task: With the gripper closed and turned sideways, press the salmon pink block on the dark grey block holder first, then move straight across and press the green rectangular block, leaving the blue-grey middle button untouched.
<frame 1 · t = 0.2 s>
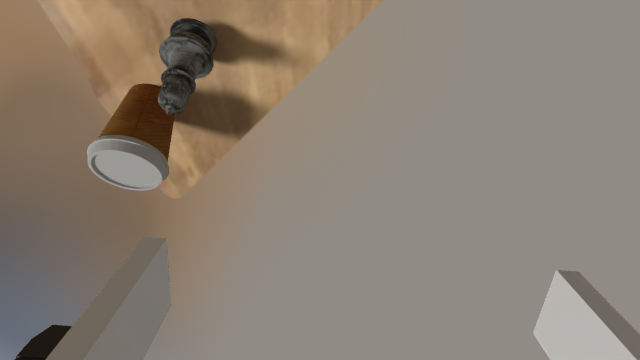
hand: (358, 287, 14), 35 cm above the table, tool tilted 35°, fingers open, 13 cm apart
disposable coffee cup: (153, 99, 57), on the table
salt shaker: (193, 37, 48), on the table
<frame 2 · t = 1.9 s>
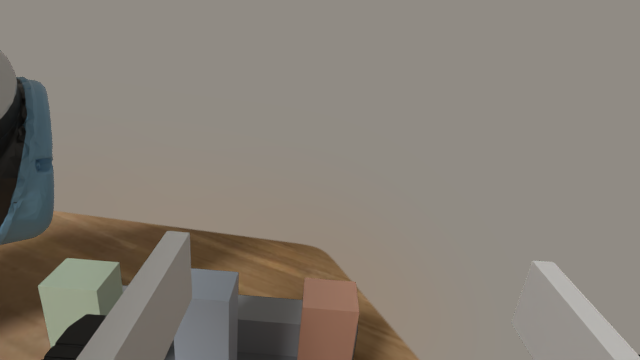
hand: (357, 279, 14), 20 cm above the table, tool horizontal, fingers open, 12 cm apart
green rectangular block: (90, 334, 28), point 7 cm above the table, slide at 0.0 cm
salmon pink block: (323, 352, 28), point 7 cm above the table, slide at 0.0 cm
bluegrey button: (207, 343, 28), point 7 cm above the table, slide at 0.0 cm
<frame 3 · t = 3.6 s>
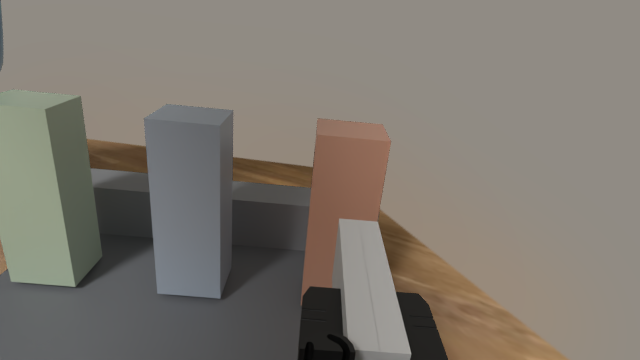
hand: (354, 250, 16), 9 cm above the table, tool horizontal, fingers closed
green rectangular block: (45, 191, 22), point 7 cm above the table, slide at 0.0 cm
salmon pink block: (340, 216, 22), point 7 cm above the table, slide at 0.0 cm
dark grey block holder: (199, 298, 25), on the table
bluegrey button: (194, 204, 22), point 7 cm above the table, slide at 0.0 cm
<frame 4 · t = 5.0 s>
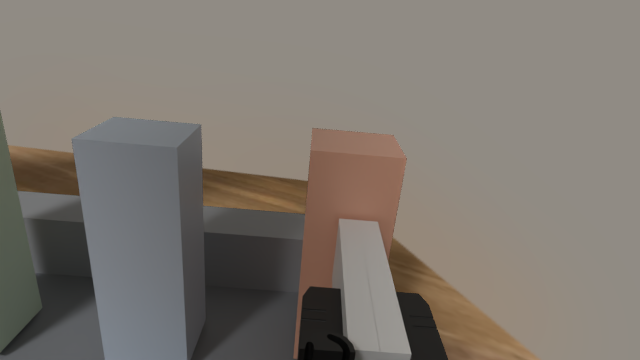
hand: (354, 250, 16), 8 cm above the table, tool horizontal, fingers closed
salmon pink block: (341, 249, 18), point 7 cm above the table, slide at 0.9 cm, touching gripper
dark grey block holder: (165, 359, 20), on the table
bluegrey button: (151, 246, 17), point 7 cm above the table, slide at 0.0 cm
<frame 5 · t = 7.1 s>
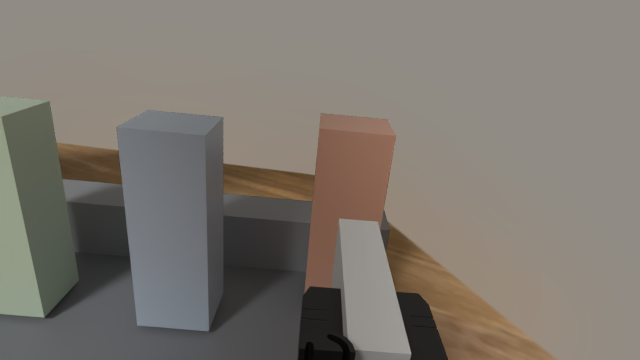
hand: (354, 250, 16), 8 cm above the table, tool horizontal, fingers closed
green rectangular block: (9, 209, 19), point 7 cm above the table, slide at 0.0 cm
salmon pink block: (344, 214, 22), point 7 cm above the table, slide at 2.6 cm
dark grey block holder: (187, 327, 23), on the table
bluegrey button: (179, 224, 19), point 7 cm above the table, slide at 0.0 cm
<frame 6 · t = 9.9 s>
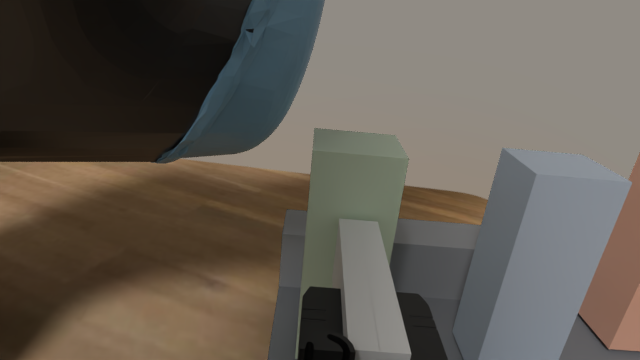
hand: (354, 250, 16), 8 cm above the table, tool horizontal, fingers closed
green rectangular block: (343, 249, 18), point 7 cm above the table, slide at 0.5 cm, touching gripper
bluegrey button: (525, 270, 18), point 7 cm above the table, slide at 0.0 cm
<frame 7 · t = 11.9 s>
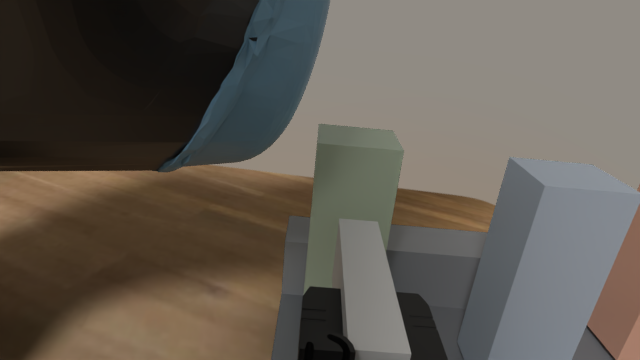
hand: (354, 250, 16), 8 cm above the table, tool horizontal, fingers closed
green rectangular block: (345, 235, 20), point 7 cm above the table, slide at 2.6 cm
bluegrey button: (532, 281, 18), point 7 cm above the table, slide at 0.0 cm
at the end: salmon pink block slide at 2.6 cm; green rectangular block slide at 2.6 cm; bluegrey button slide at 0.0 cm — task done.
